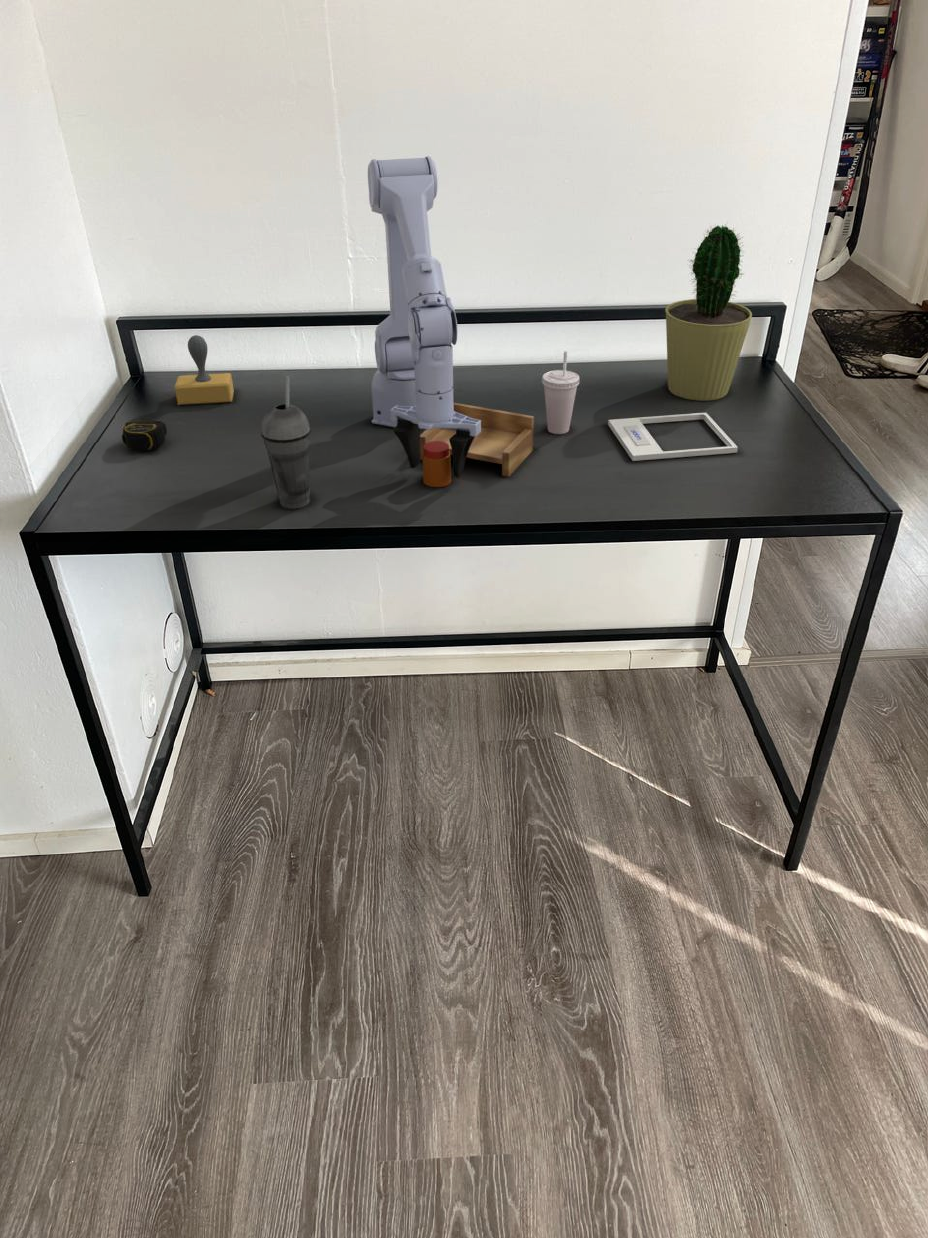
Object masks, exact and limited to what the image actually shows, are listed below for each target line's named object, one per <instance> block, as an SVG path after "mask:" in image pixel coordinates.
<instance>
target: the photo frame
mask: <svg viewBox="0 0 928 1238" xmlns="http://www.w3.org/2000/svg"><path fill="white" fill-rule="evenodd" d="M697 420H703V421H704V423H706V424H707V425H708V427H709V428H710V429H711V430H712V431H713V432H714V433H715V435H717V436H718V438H719V439H720V440H721V441H722V442H723V443H724V444H725V446H716V447H715V446H714V447H705V448H690V449H679V450H678V449H677V450H667V451H665V450H662V448H661V447H660V445H659V444H658V442H657V441H656V440H655V439H654V437H653V436H652V435H651V433H650V432H649V430H648V429H647V428H646V427H645V425H646V424H658V423H671V422H684V421H697ZM644 424H645V425H644ZM607 425H608V427H609V428H610V430H611V431H612V433H613V435H614V436H615V437H616V439H617V440H618V442H619V444H620V445H621V447H623V449H624V450H625V452H626V454H627V455H628V457H629V458H630V459H631V462H636V461H637V462H638V461H648V460H661V459H675V458H685V457H698V456H699V457H700V456H712V455H725V454H735V453H738V449H739V447H738V446H737V445H736V443H735V442H734V441H733V440H732V439H731V438H730V437H729V436H728V435H727V434H726V432H725V431H724V430H723V429H722V428H721V427H720V426H719V425H718V423H716V421H715V420H714V419H713V418H712V417H711V416H710V415H709V414H708V413H707V412H695V413H682V414H670V415H668V414H667V415H656V416H655V415H653V416H643V417H630V418H629V417H628V418H616V419H615V418H614V419H608V422H607Z"/></svg>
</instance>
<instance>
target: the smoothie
mask: <svg viewBox="0 0 928 1238" xmlns="http://www.w3.org/2000/svg"><path fill="white" fill-rule="evenodd" d="M562 359H563V361H562V369H554V370H549V371H548V372H545V373H543V375H542V379H541V383H542V385H543V389H544V391H543V392H544V402H545V412H546V413H545V414H546V424H547V431H548V432H549V433H551V434H553V435H564V434H566V433H568V432H569V431H570V427H571V422H572V416H573V411H574V405H575V399H576V395H577V390H578V389H577V388H578V386H579V385H580V375H579V374H578V373H576V372H573V371H570V370H567V364H568V351H567V350H564V351H563V358H562Z"/></svg>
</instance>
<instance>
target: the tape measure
mask: <svg viewBox="0 0 928 1238" xmlns="http://www.w3.org/2000/svg"><path fill="white" fill-rule="evenodd" d="M167 433H168V429H167V425H166V423H165V422H163V421H159V420H142V421H141V420H140V421H128V422H125V424H124V427H123V429H122V434H121V441H122V443H123V444H124V445H126V447H127V448H128V449H130V450H134V451H152V450H153V449H156V448H158V447H161V446H163V444H164V443H165V442H166V435H167Z"/></svg>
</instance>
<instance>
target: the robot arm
mask: <svg viewBox="0 0 928 1238" xmlns="http://www.w3.org/2000/svg"><path fill="white" fill-rule="evenodd" d="M367 184H368V185H367V186H368V199H369V206H370V210H371V212H372V213H375V214H380V215H381V216H382V219H383V222H384V228H385V229H384V230H385V245H386V247H385V248H386V263H387V280H388V295H389V296H388V297H389V315H388V316H387V317H386V318H385V319H384V320H382V321H381V322H380V323H378V324H377V326H376V327H375V330H374V334H375V335H374V336H375V337H374V338H375V340H374V355H375V363H376V367H377V370H376V371H375V373H374V375H373V377H372V380H371V400H372V402H371V403H372V416H373V419H371V424H374V425H379V426H383V427H384V426H386V427H390V428H393V432H394V435H395V436H396V437H397V439H398V440H399V441H400V443H401V445H402V447H403V449H404V452H405V455H406V457H407V460H408V462H409V467H410V468H412V469H415V468H417V466H418V465H419V464H420V463H421V460H420V435H421V430H429V429H431V428H441V429H446V430H452V431H456V434H454V435H453V436H452V437H451V438H450V439H449V441H450V445H451V448H452V454H453V455H452V473H453V477H456V478H459V477H460V476H461V475H462V474H463V473H464V469H465V463H466V461H467V454H468V451H469V448H470V446H471V444H472V442H473V440H474V438H475V437H476V436H477V435H478V434H479V433H480V432H481V420H477V419H473V418H470V417H468V416H465V415H462V414H460V413H457V412H455V411H454V403H455V401H454V349H453V346H455V345H457V341H458V320H457V315H456V311H455V307H454V304H453V303H452V300H451V297H448V296H447V290H446V284H445V279H444V276H443V275H444V274H443V268H442V264H441V262H440V261H439V260H438V258H436V257H434V256H433V255H432V250H431V249H432V248H431V239H430V229H429V227H430V226H429V219H428V218H429V217H428V212H429V211H430V210H431V209H433V207H434V203H435V201H434V200H435V199H436V197H437V194H438V171H437V167H436V162H435V161H434V160H433V158H432V157H431V156H430V155H428V156H425V157H411V158H394V159H376V158H375V159H371V160H370V162H369V163H368V165H367Z"/></svg>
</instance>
